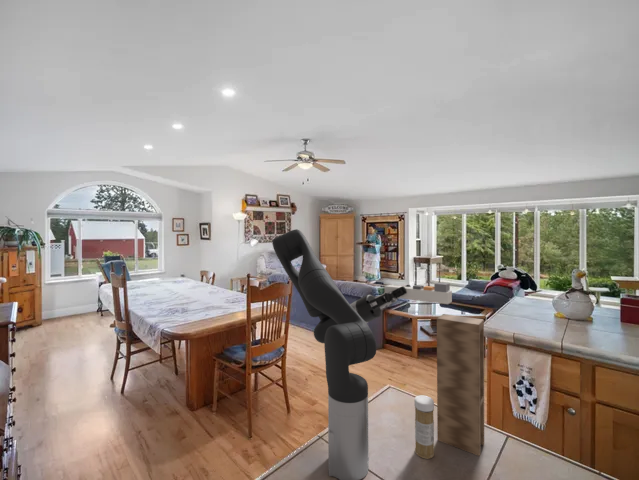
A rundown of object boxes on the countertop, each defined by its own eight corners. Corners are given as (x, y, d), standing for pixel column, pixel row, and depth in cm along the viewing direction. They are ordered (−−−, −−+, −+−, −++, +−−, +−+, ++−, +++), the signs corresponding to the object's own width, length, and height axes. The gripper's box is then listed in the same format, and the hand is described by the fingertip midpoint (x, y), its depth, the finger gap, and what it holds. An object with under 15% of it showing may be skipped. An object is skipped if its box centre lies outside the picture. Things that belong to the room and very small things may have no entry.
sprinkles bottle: (421, 444, 80) (421, 392, 80) (438, 454, 76) (437, 399, 76) (411, 452, 77) (410, 398, 77) (427, 462, 73) (427, 406, 73)
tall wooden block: (437, 440, 82) (436, 318, 82) (444, 429, 86) (443, 313, 86) (479, 456, 76) (478, 324, 75) (484, 443, 80) (483, 319, 80)
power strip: (384, 296, 92) (384, 279, 92) (389, 294, 95) (389, 278, 95) (447, 304, 81) (447, 284, 81) (451, 301, 84) (451, 283, 84)
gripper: (345, 303, 94) (391, 279, 85) (368, 296, 105) (411, 274, 96) (356, 327, 92) (404, 304, 83) (378, 317, 103) (423, 296, 94)
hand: (407, 288), depth 89 cm, fingers closed on power strip, 3 cm apart
